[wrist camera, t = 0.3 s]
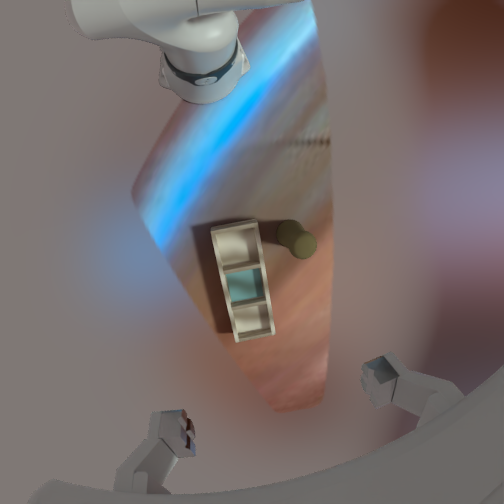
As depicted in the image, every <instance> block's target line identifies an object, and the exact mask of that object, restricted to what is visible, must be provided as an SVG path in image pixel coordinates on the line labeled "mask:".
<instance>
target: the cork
mask: <svg viewBox="0 0 504 504" xmlns="http://www.w3.org/2000/svg"><path fill="white" fill-rule="evenodd" d="M276 234H277V239H278V241H279V242H280V244H282V245H283V246H285V247H287V248H289V250H290V252H291V253H292V255H293V256H294V257H296V258H299V259H307V258H309V257H311V256H312V255H313V254H314V252H315V251H316V248H317V242H316V239H315V237H314V236H313V235H312V234H311V233H309V232H307V231H305V230H304V228H303V227H302V225H301V224H300V223H299V222H297V221H295V220H286V221H284V222H282V223H281V224H280V225H279V227H278V229H277V232H276Z"/></svg>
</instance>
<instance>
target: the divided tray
mask: <svg viewBox="0 0 504 504" xmlns="http://www.w3.org/2000/svg"><path fill="white" fill-rule="evenodd" d="M211 236H212V241H213V246H214V250H215V255H216V259H217V264H218V269H219V273H220V278H221V282H222V286H223V291H224V295H225V299H226V304H227V308H228V312H229V316H230V320H231V325H232V329H233V333H234V337H235V341H236V342H241V341H246V340H251V339H256V338H261V337H266V336H270V335H275V327H274V321H273V314H272V308H271V301H270V295H269V289H268V282H267V276H266V270H265V264H264V258H263V251H262V245H261V239H260V233H259V227H258V222H257V221H256V219H251V220H246V221H240V222H235V223H230V224H225V225H220V226H215V227H211Z"/></svg>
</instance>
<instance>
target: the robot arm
mask: <svg viewBox="0 0 504 504" xmlns="http://www.w3.org/2000/svg"><path fill="white" fill-rule="evenodd" d="M301 1H304V0H65V14H66V17H67V20H68V22H69V24H70V25H71V27H72V28H73V29H74V30H75V31H76V32H77V33H79V34H80V35H82V36H84V37H86V38H88V39H91V40H101V39H109V38H129V39H137V40H142V41H146V42H149V43H153V44H156V45H158V46H160V50H161V51H162V57H161V60H160V61H161V65H160V74H159V84H160V85H161V86H162V87H164V88H167V89H170V90H172V91H174V92H175V93H176V94H177V95H178V96H179V97H181V98H182V99H184V100H186V101H188V102H191V103H196V104H207V103H212V102H216V101H218V100H220V99H222V98H224V97H225V96H227V95H228V94H229V93H230V92H231V91H232V90H233V89H234V88H235V86H236V84H237V83H238V81H239V79H240V78H241V77H242V76H243V75H244V74H246V73H247V72H248V71H249V70H250V64H249V61H248V59H247V57H246V55H245V53H244V50H243V48H242V46H241V44H240V42H239V40H238V38H237V33H238V19H237V16H236V15H235V13H234V11H236V10H247V9H262V8H267V7H272V6H278V5H284V4H290V3H296V2H301ZM362 371H363V374H362V375H361V384H362V387H363V390H364V391H365V393H366V394H369V395H370V401H371V402H372V404H373V405H374V407H375V408H376V409H377V408H379V407H382V406H384V405H386V404H389V403H391V402H392V403H393V404H394V405H396V406H398V407H401V408H403V409H405V410H407V411H409V412H411V413H413V414H415V415H417V416H419V417H420V419H419V422H418V424H417V427H416V428H417V429H416V430H414V431H412V432H410V433H408V434H407V435H404V436H403V437H401V438H399V439H397V440H395V441H393V442H391V443H389V444H387V445H385V446H383V447H381V448H378V449H376V450H374V451H372V452H369V453H367V454H365V455H362V456H360V457H358V458H355V459H353V460H350V461H347V462H345V463H342V464H339V465H336V466H334V467H331V468H328V469H325V470H322V471H318V472H315V473H312V474H309V475H305V476H301V477H298V478H294V479H290V480H286V481H282V482H278V483H273V484H268V485H263V486H258V487H252V488H246V489H239V490H232V491H223V492H214V493H201V494H174V495H173V494H171V493H170V492H169V491H168V490H167V489H166V488H164V487H163V486H162V484H163V482H164V481H165V479H166V477H167V476H168V474H169V473H170V471H171V470H172V468H173V467H174V465H175V464H176V462H177V460H178V458H184V457H193V456H195V455H196V454H195V444H194V442H193V440H194V438H195V430H194V425H193V423H192V421H191V419H189V418H187V413H186V411H185V410H184V409H181V410H170V411H159V412H152V414H151V417H150V423H149V430H148V437H147V439H144V440H143V442H142V443H141V444H140V445H139V446H138V447H137V448H136V449H135V450H134V452H132V454H131V455H130V456H129V457H128V458H127V459H126V460H125V461H124V462H123V463H122V464H121V465H120V467H119V468H118V469H117V470H116V476H115V483H114V489H113V491H110V490H103V489H97V488H91V487H86V486H81V485H76V484H72V483H68V482H63V481H60V480H55V479H52V480H49V481H48V482H46V483H45V484H43V485H42V486H41V487H39V488H38V489H37V490H35V491H34V492H33V493H32V495H31V496H30V498H29V500H28V503H27V504H504V365H503V366H502V367H501V368H500V369H499V370H498V371H497V372H496V373H494V374H493V375H492V376H491V377H490V378H489V379H487V380H486V381H485V382H484V383H483V384H482V385H480V386H479V387H478V388H476V389H475V390H474V391H473V392H471V393H470V394H469V395H467V396H466V397H465V396H464V395H463V394H462V393H461V392H460V390H459V389H458V388H457V387H456V386H455V385H454V384H453V383H452V382H450V381H447V380H443V379H440V378H436V377H433V376H429V375H425V374H422V373H419V372H416V371H409V370H408V369H407V368H406V367H405V366H404V365H403V364H402V362H401V361H400V360H399V359H398V358H397V357H396V356H395V354H394V353H393V352H389V353H387V354H384V355H382V356H379V357H377V358H375V359H372V360H370V361H368V362H365V363H363V364H362Z"/></svg>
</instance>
